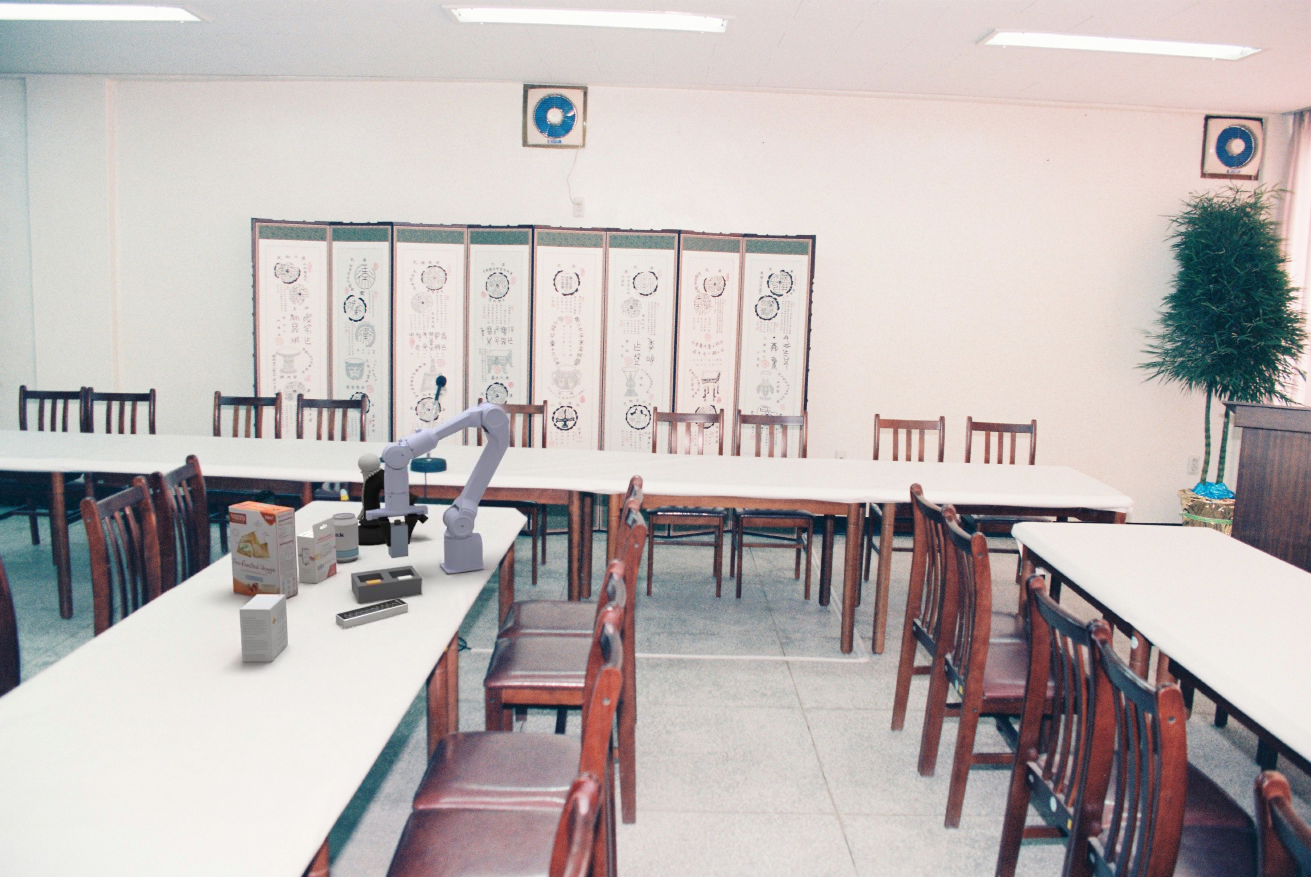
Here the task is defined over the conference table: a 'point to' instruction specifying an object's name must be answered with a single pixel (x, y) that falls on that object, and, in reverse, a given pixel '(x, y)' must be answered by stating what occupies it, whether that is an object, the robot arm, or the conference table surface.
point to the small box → (263, 627)
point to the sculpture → (374, 500)
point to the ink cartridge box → (317, 552)
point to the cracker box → (263, 549)
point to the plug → (398, 539)
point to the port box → (386, 584)
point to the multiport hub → (371, 613)
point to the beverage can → (346, 537)
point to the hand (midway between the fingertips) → (398, 544)
